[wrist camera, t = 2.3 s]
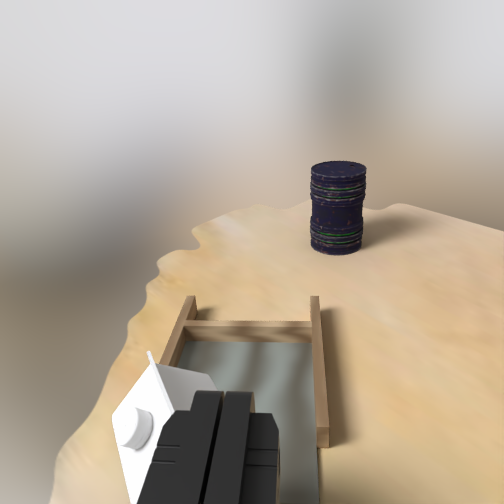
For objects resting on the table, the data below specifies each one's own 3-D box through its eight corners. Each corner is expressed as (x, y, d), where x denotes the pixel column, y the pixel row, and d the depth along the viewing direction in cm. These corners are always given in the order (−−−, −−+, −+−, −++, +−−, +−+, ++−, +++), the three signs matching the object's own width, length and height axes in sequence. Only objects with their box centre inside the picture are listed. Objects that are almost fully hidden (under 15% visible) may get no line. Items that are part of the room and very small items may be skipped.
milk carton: (236, 495, 38) (198, 331, 29) (274, 576, 32) (242, 402, 23) (160, 537, 35) (92, 373, 26) (186, 632, 30) (110, 464, 20)
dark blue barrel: (328, 260, 76) (330, 180, 69) (300, 240, 84) (299, 166, 77) (372, 247, 79) (379, 170, 72) (342, 228, 87) (345, 157, 80)
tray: (318, 313, 62) (318, 296, 61) (333, 508, 37) (334, 486, 35) (189, 312, 64) (187, 295, 63) (119, 496, 39) (113, 475, 37)
